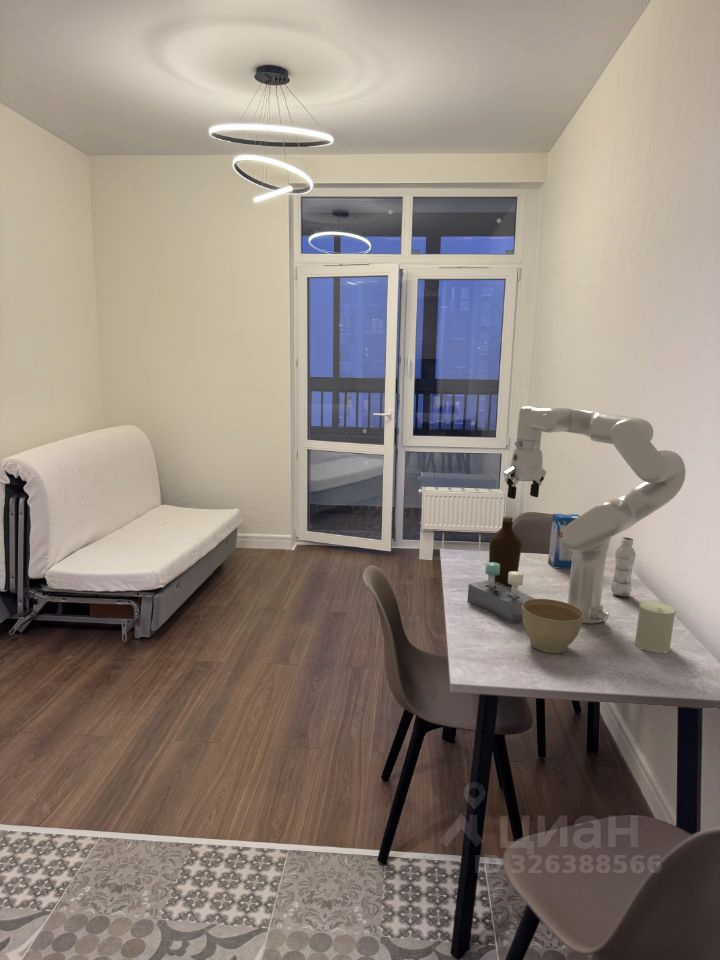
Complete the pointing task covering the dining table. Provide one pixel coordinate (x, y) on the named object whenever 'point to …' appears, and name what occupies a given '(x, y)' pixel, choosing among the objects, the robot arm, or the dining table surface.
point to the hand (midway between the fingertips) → (522, 497)
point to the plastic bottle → (623, 568)
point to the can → (654, 626)
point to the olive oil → (505, 551)
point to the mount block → (497, 600)
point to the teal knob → (492, 572)
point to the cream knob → (515, 582)
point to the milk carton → (560, 541)
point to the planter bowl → (551, 624)
